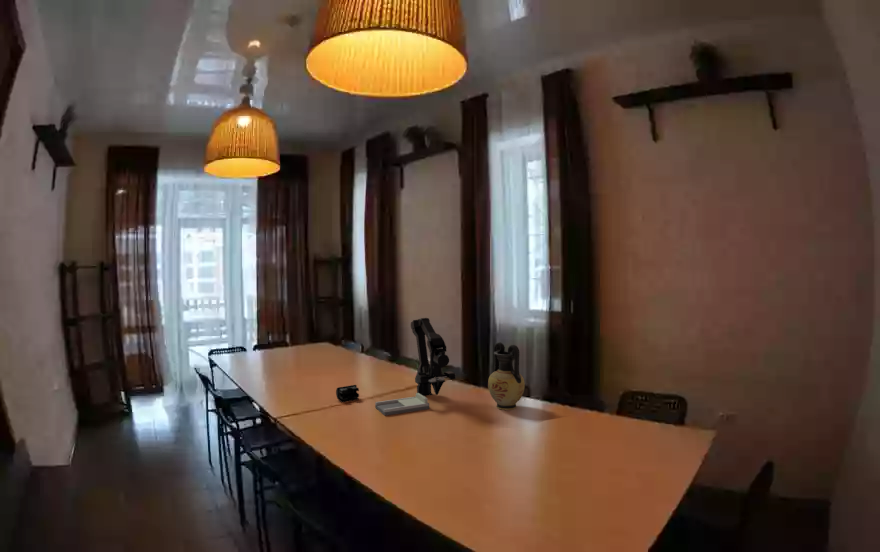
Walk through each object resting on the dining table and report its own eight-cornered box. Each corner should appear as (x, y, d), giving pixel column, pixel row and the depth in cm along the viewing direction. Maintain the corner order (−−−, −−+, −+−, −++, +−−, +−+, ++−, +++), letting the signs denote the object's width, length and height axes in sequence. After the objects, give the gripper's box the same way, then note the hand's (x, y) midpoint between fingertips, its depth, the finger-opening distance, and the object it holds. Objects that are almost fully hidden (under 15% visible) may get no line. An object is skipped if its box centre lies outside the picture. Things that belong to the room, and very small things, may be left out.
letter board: (418, 401, 252) (418, 396, 251) (429, 408, 239) (429, 403, 239) (375, 407, 242) (375, 402, 242) (384, 415, 230) (384, 409, 230)
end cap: (354, 396, 264) (354, 383, 264) (359, 399, 258) (359, 386, 258) (336, 399, 259) (335, 386, 258) (341, 402, 253) (340, 389, 252)
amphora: (532, 406, 239) (531, 343, 238) (511, 415, 227) (510, 348, 226) (502, 400, 251) (500, 339, 250) (480, 407, 239) (479, 344, 238)
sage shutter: (418, 398, 250) (418, 392, 250) (427, 404, 240) (427, 398, 240) (397, 401, 246) (397, 395, 246) (405, 407, 235) (405, 401, 235)
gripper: (446, 358, 259) (446, 388, 259) (412, 361, 251) (412, 393, 251) (456, 361, 249) (456, 393, 249) (420, 365, 241) (421, 398, 241)
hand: (436, 394), depth 248 cm, fingers closed
